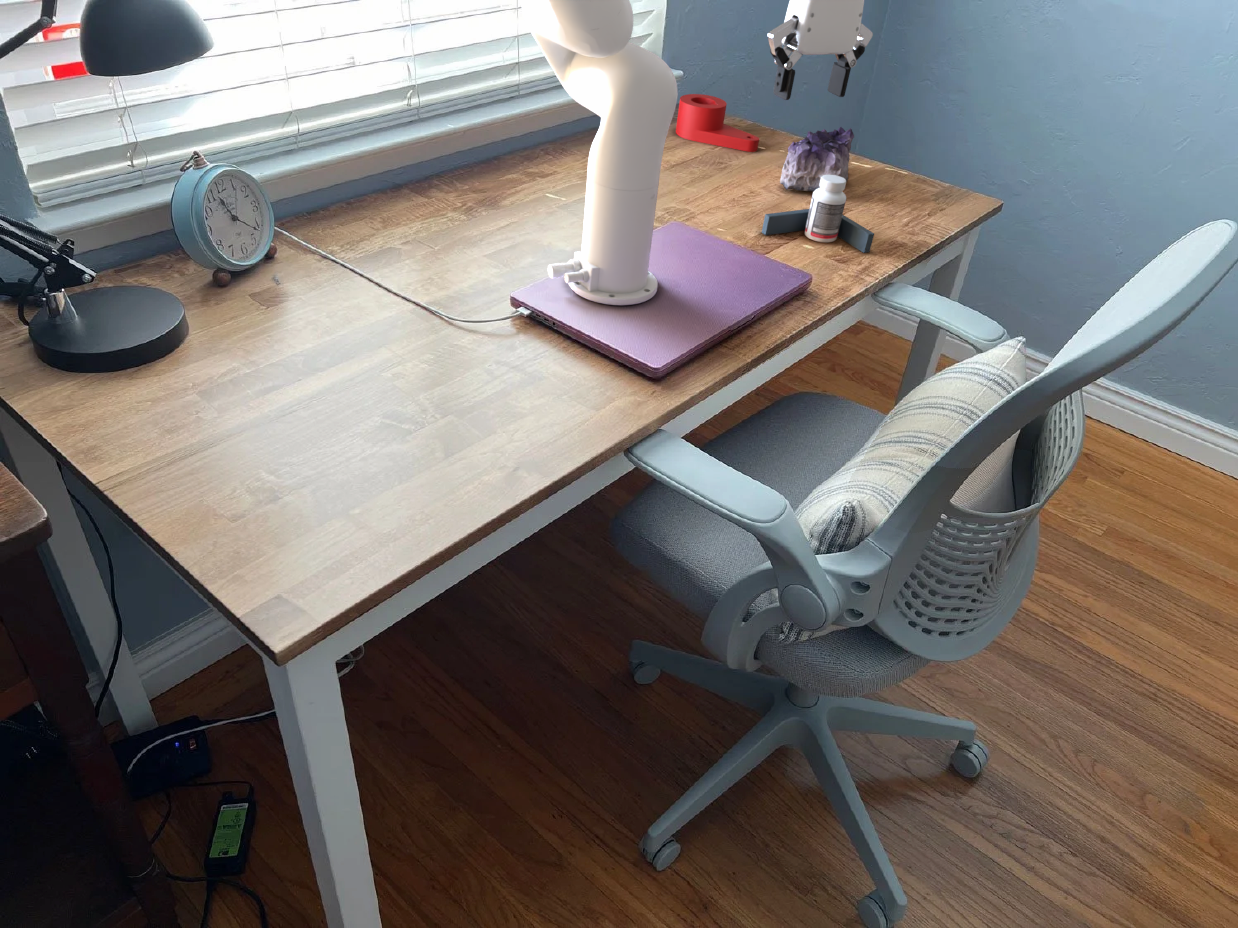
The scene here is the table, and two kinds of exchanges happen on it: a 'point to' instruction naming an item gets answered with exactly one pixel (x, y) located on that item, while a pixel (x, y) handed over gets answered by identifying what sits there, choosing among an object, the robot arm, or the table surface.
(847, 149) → the geode
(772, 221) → the corner
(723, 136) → the lever
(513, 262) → the table surface
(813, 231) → the pill bottle
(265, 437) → the table surface
